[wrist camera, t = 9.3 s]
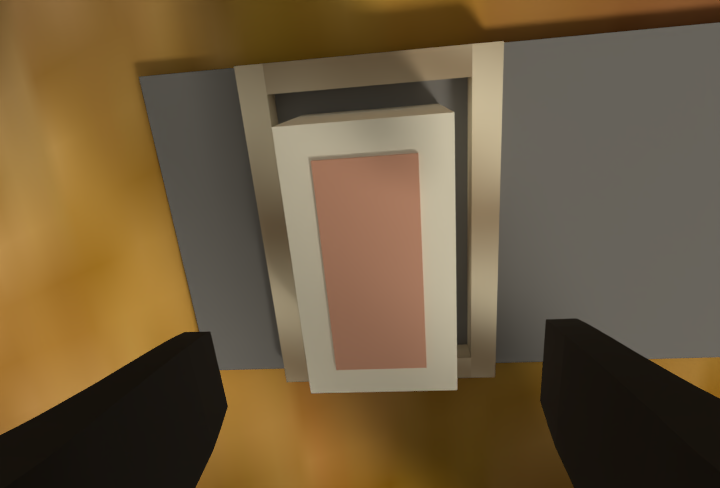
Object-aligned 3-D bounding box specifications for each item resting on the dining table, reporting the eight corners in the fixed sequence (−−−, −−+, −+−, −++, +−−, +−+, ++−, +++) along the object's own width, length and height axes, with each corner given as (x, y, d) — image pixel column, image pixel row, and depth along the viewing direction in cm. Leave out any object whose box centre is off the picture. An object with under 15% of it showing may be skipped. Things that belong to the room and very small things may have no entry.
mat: (1013, 341, 18) (1029, 349, 18) (212, 364, 21) (208, 370, 21) (1191, -21, 14) (1219, -25, 13) (145, 76, 17) (138, 76, 16)
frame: (490, 363, 20) (495, 377, 19) (291, 368, 21) (286, 381, 20) (497, 43, 15) (504, 40, 14) (243, 67, 16) (233, 66, 15)
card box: (302, 114, 16) (270, 127, 12) (438, 103, 16) (454, 112, 12) (328, 325, 20) (310, 395, 15) (443, 321, 19) (457, 392, 15)
